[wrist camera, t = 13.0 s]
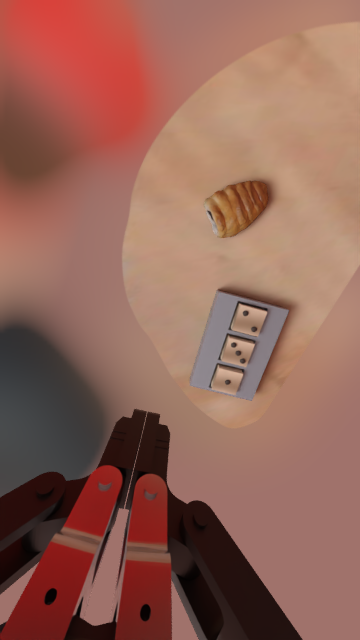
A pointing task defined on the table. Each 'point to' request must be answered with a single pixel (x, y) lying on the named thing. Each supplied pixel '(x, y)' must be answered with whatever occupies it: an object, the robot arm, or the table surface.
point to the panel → (221, 326)
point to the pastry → (236, 207)
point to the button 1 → (226, 378)
